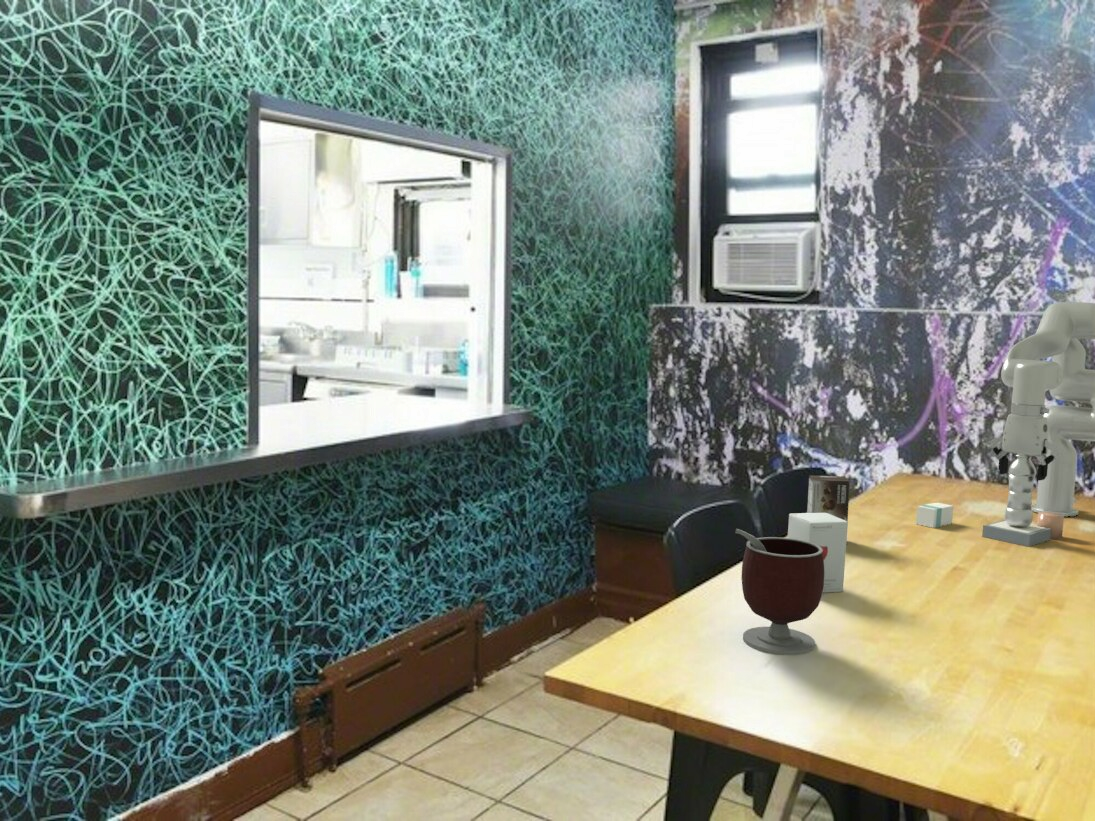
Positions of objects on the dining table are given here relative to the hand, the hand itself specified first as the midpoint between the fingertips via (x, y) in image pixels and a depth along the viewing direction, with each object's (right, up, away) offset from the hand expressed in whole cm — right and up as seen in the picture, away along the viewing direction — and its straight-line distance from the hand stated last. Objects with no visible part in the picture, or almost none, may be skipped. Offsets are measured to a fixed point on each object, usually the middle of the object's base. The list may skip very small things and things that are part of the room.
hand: (1021, 476), depth 251 cm
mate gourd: (-83, -24, -81) cm, 118 cm away
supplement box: (-67, -20, -47) cm, 84 cm away
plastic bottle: (0, -13, +1) cm, 13 cm away
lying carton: (-16, -14, +16) cm, 27 cm away
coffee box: (-53, -16, -7) cm, 56 cm away
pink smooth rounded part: (+10, -16, +5) cm, 19 cm away
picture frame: (-1, -16, +2) cm, 16 cm away
